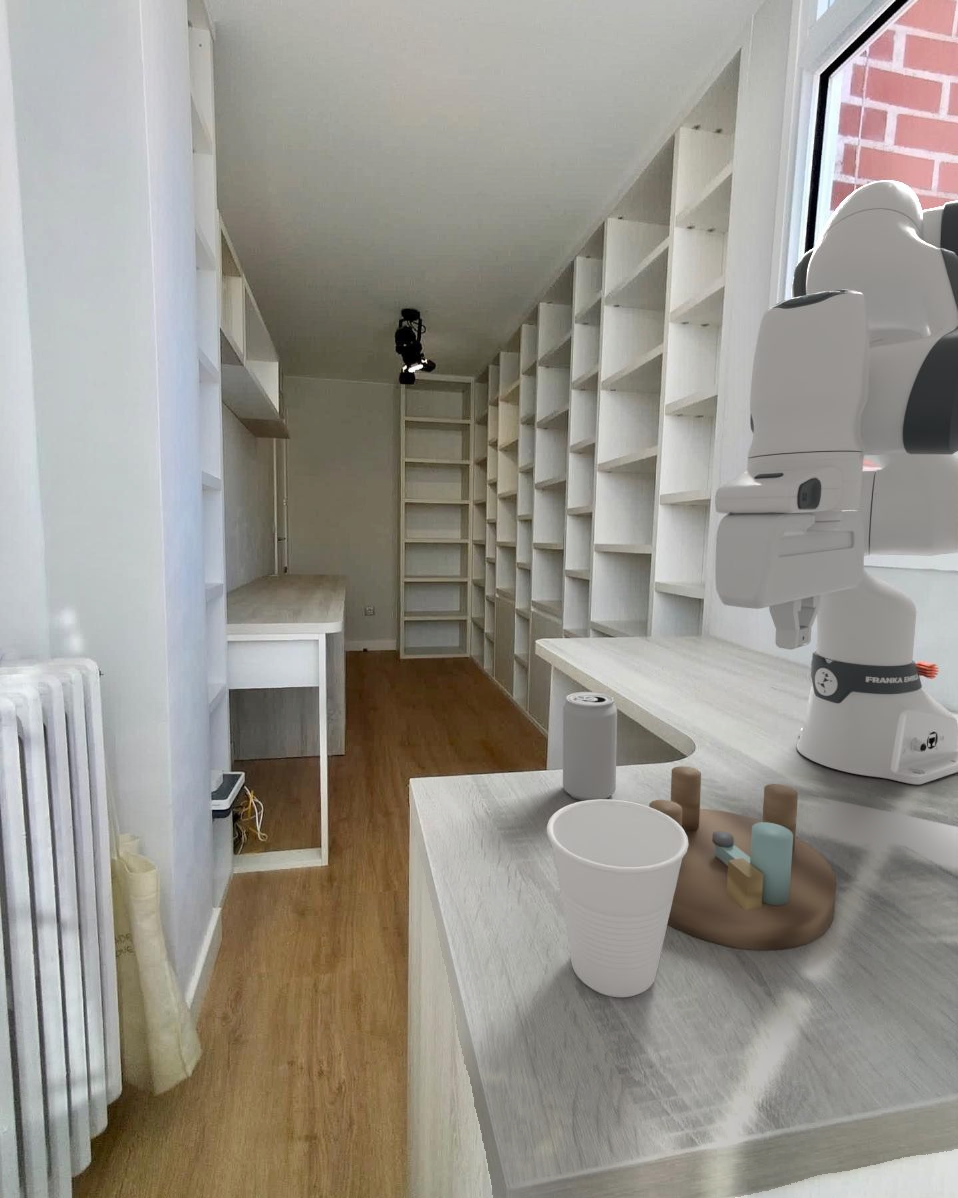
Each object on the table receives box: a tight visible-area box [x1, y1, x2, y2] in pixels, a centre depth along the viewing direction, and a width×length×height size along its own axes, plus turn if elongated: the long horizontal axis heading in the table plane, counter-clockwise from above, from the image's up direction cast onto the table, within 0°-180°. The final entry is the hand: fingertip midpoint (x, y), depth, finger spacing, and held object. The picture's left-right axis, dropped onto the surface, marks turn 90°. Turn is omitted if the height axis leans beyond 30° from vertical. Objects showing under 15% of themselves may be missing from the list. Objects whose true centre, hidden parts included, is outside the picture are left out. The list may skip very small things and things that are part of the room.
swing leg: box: [712, 822, 793, 905], centre depth 52 cm, size 8×3×5 cm, turn 14°
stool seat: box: [648, 765, 837, 951], centre depth 55 cm, size 18×18×8 cm
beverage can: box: [562, 691, 618, 801], centre depth 73 cm, size 6×6×12 cm
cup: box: [546, 798, 689, 998], centre depth 44 cm, size 10×10×11 cm
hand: (792, 646), depth 54 cm, fingers closed
